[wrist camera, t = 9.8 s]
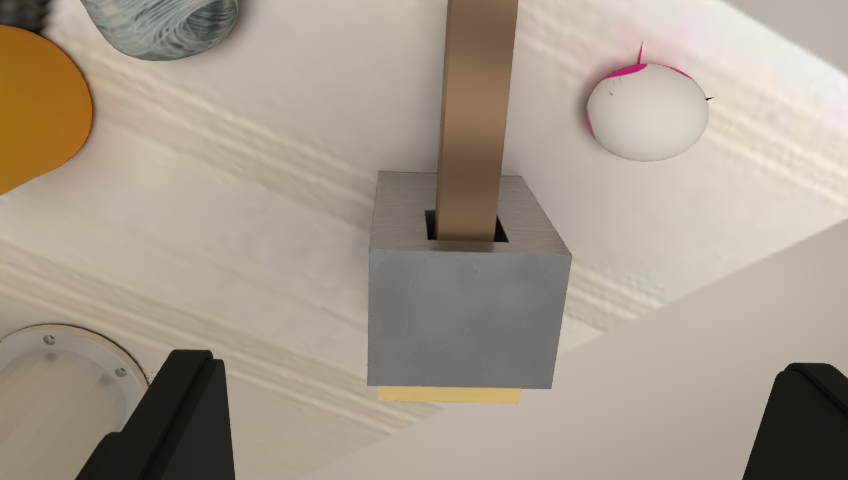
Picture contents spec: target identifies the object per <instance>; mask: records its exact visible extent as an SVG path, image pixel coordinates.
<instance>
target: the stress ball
mask: <svg viewBox="0 0 848 480" xmlns="http://www.w3.org/2000/svg"><path fill="white" fill-rule="evenodd" d="M642 44H643V42H642ZM641 51H642V47H641ZM641 51H640V55H639V59H638V63H637V65H633V66H629V67H625V68H623V69H620V70H618V71H615V72H613V73H612V74H610V75H609V76H607V77H606V78H604V79H603V80H602V81H601V82H600V83H599V84H598V85H597V86H596V88H595V89H594V90H593V92H592V94H591V96H590V98H589V100H588V104H587V109H586V118H587V123H588V127H589V129H590V131H591V133H592V135H593V137H594V138H595V139H596V141H597V142H598V143H599V144H600V145H601V146H602V147H604V148H605V149H606V150H608V151H609V152H611V153H613V154H615V155H617V156H619V157H622V158H625V159H629V160H633V161H642V162H652V161H660V160H665V159H668V158H671V157H674V156H676V155H679V154H681V153H682V152H684V151H686V150H687V149H689V148H690V147H691V146H692V145H694V144H695V143H696V142H697V140H698V139H699V138H700V137H701V135H702V134H703V132H704V130H705V128H706V125H707V122H708V117H709V107H708V102H707V100H709V99H711V98H707V99H706V96H705V94H704V92H703V90H702V89H701V87H700V86H699V85H698V84H697V83H696V82H695V81H694V80H693V79H692V78H691V77H689V76H688V75H686V74H685V73H683V72H681V71H679V70H677V69H674V68H672V67H668V66H664V65H658V64H640V58H641ZM713 98H714V97H713Z"/></svg>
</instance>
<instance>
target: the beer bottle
mask: <svg viewBox="0 0 848 480" xmlns="http://www.w3.org/2000/svg"><path fill="white" fill-rule="evenodd" d="M91 123H92V104H91V98H90V94H89V91H88V88H87V85H86V83H85V81H84V79H83V77H82V75H81V73H80V72H79V70H78V69H77V67H76V66H75V65H74V63H73V62H72V61H71V60H70V59H69V58H68V57H67V56H66V55H65V54H64V53H63V52H62V51H61V50H60V49H59V48H58V47H56V46H55V45H54V44H52V43H51V42H49V41H48V40H47V39H45V38H43V37H41V36H39V35H37V34H35V33H33V32H30V31H27V30H24V29H21V28H17V27H12V26H5V25H0V195H2V194H4V193H6V192H8V191H10V190H12V189H14V188H16V187H18V186H20V185H22V184H23V183H25V182H27V181H29V180H31V179H33V178H35V177H38V176H40V175H42V174H44V173H47V172H49V171H51V170H53V169H55V168H57V167H59V166H61V165H62V164H64V163H65V162H66V161H68V160H69V159H70V158H71V157H73V156H74V155H75V154H76V152H77V151H78V150H79V149H80V148H81V146H82V145H83V144H84V142H85V140H86V138H87V136H88V134H89V131H90V127H91Z"/></svg>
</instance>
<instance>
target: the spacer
mask: <svg viewBox="0 0 848 480" xmlns="http://www.w3.org/2000/svg"><path fill="white" fill-rule="evenodd" d="M519 395H520V388H466V387H412V386H379V395H378V400H389V401H434V402H479V403H518V402H519Z"/></svg>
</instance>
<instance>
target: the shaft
mask: <svg viewBox="0 0 848 480" xmlns="http://www.w3.org/2000/svg"><path fill="white" fill-rule="evenodd" d="M517 9H518V0H448V6H447V23H446V40H445V57H444V73H443V90H442V107H441V124H440V141H439V157H438V174H437V191H436V208H435V225H434V240H444V241H476V242H494V236H495V226H496V216H497V206H498V196H499V186H500V176H501V166H502V157H503V147H504V137H505V127H506V117H507V107H508V97H509V87H510V78H511V68H512V58H513V48H514V38H515V28H516V18H517Z"/></svg>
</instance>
